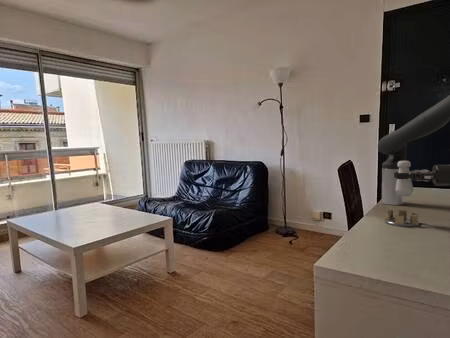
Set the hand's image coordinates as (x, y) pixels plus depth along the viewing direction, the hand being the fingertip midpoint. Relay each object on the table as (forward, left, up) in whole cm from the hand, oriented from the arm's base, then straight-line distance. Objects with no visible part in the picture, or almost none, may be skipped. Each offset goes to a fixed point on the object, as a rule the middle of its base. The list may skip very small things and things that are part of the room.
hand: (395, 175), depth 113 cm
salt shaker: (+1, +3, -8) cm, 8 cm away
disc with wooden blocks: (+2, +1, -18) cm, 18 cm away
